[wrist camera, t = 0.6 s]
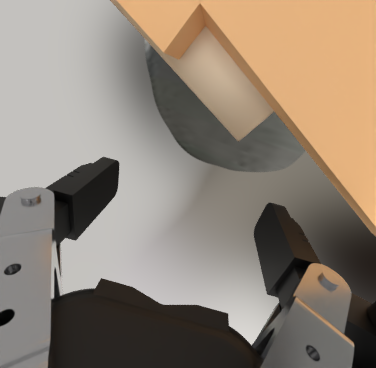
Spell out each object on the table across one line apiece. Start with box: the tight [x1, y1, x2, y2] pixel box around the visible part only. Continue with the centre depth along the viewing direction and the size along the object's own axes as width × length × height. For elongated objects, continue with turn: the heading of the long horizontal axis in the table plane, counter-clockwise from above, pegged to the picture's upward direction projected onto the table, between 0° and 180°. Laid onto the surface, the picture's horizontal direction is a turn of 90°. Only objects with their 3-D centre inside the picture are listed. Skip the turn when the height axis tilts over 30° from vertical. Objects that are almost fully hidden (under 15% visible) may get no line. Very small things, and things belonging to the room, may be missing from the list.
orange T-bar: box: [117, 0, 376, 236], centre depth 8 cm, size 7×22×3 cm, turn 46°
